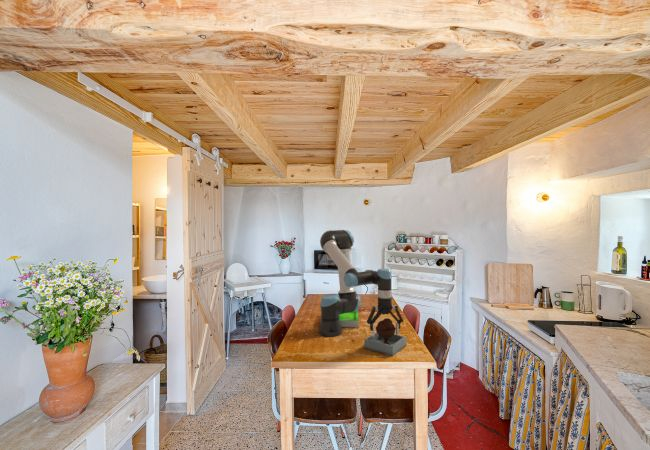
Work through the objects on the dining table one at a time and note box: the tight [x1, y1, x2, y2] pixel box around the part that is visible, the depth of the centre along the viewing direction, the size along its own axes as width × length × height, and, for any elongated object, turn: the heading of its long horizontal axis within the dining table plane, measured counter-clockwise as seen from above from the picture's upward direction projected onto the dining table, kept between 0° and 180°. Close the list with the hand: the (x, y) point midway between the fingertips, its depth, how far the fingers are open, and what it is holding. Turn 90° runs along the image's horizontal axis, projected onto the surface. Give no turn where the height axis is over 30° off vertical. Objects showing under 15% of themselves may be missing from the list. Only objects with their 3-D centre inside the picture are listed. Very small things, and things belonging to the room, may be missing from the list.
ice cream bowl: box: [375, 317, 396, 345], centre depth 172 cm, size 11×11×15 cm
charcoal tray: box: [363, 331, 407, 357], centre depth 172 cm, size 17×17×5 cm
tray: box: [339, 309, 359, 328], centre depth 219 cm, size 25×25×5 cm
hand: (385, 335), depth 172 cm, fingers open, 13 cm apart
